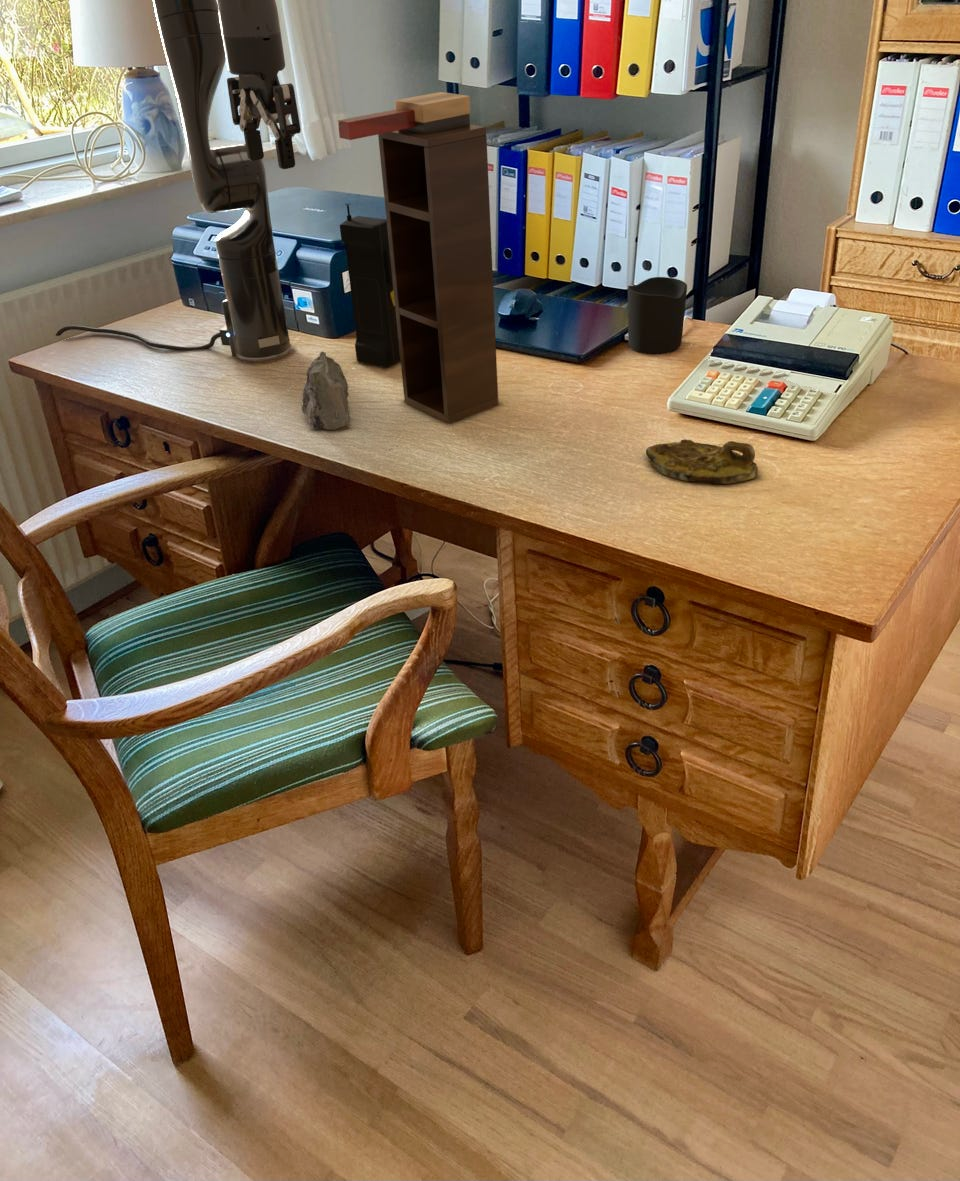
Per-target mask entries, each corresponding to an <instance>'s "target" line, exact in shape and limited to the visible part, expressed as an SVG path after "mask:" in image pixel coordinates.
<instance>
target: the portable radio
mask: <svg viewBox="0 0 960 1181" xmlns="http://www.w3.org/2000/svg"><path fill="white" fill-rule="evenodd" d="M350 205H351V204H350V203H345V206H346V210H347V215H346V220H343V221H342V222H341V223H340V224H339V231H340V240H341V242H343V243H344V246H345V247H344V248H345V254H346V262H347V271H348V278H349V286H350V296H351V302H352V303H351V304H352V311H353V319H354V326H355V327H354V328H355V337H356V339H355V343H354V349H355V356H356V361H357V363H360V364H364V365H370V366H374V367H375V366H376V367H380V368H389V367H391V366H393V365H395V364H397V363H399V362H401V361H400V351H399V341H398V331H397V321H396V311H395V301H394V291H393V281H392V270H391V260H390V250H389V240H388V230H387V220H386V218H379V217H370V216H362V215H356V216H353V217H352V214H351V213H350V212H351V211H350Z"/></svg>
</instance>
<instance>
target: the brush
mask: <svg viewBox="0 0 960 1181" xmlns="http://www.w3.org/2000/svg"><path fill="white" fill-rule="evenodd" d="M470 114H471V100H470V95H466V94H458V93H451V92H444V91H438V92H434V93H433V92H432V93H428V94H423V95H422V94H421V95H416V96H412V97H406V98H405V97H404V98H399V99H394V109H391V110H386V111H381V112H376V113H370V114H365V115H359V116H354V117H349V118H343V119H338V120H337V127H338V136H339V139H344V140H348V141H353V140H357V139H363V138H367V137H368V138H369V137H372V136H378V134H383V133H388V132H393V131H398V130H403V131H408V132H414V133H419V134H424V135H425V134H430V133H435V132H440V131H445V130H450V129H454V128H459V127H464V126H469V125H470V124H471V118H470V116H471V115H470Z"/></svg>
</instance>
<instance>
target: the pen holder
mask: <svg viewBox="0 0 960 1181" xmlns="http://www.w3.org/2000/svg"><path fill="white" fill-rule="evenodd" d="M687 292H688V284H687V283H686V282H685V281H683V280H680V279H678V278H674V277H669V276H668V277H667V276H653V277H649V278H647V279H645V280H643V281H641V282H639V283H638V284H635V285H628V286H627V337H628V338H627V340H628V342H627V343H628V346H629V348H630V349H631V350H632V351H634V352H637V353H640V354H643V355H653V356H654V355H657V356H658V355H666V354H670V353H673V352H676V351H677V350H678V349H679V348H680V347H681V346H682V341H683V332H684V323H685V313H686V302H687Z"/></svg>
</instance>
